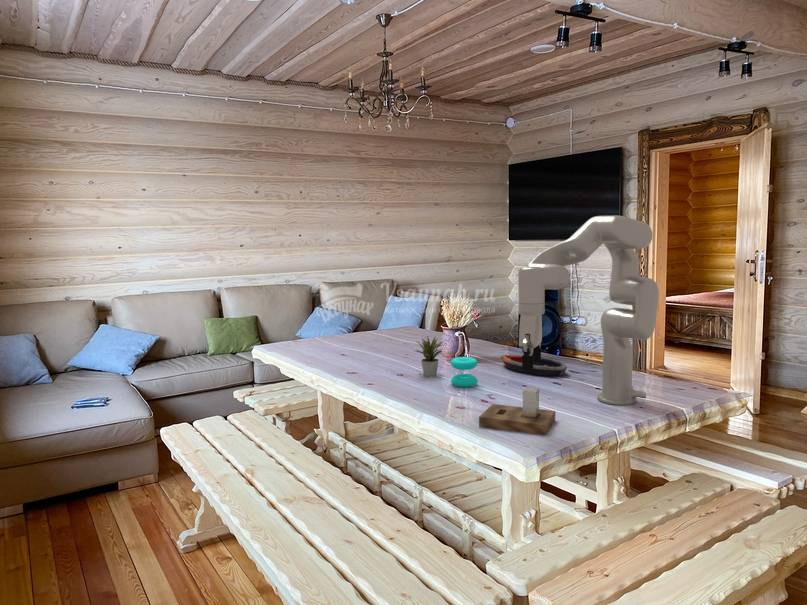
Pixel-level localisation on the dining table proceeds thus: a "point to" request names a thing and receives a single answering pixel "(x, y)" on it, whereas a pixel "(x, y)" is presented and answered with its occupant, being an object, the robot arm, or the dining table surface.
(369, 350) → the dining table surface
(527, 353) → the robot arm
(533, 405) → the steel square peg
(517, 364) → the dish
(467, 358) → the donuts
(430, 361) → the house plant
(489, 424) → the walnut bore plate
